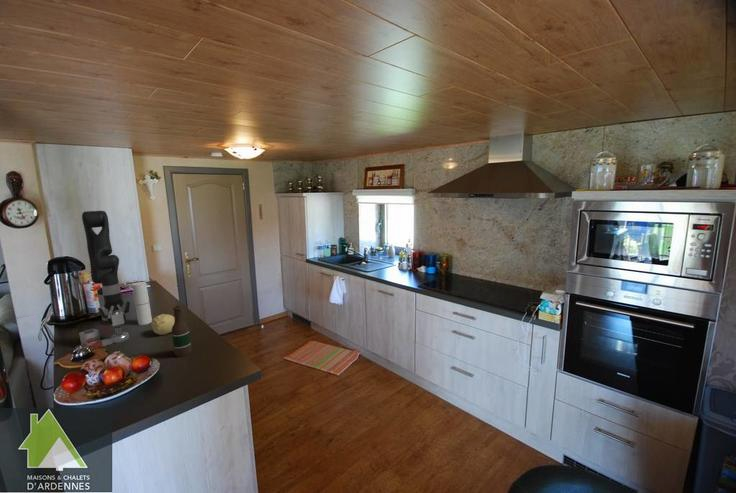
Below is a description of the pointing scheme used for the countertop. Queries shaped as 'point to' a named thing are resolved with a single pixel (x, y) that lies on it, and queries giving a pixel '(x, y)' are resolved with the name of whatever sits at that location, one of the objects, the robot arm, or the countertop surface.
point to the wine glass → (109, 339)
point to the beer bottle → (180, 334)
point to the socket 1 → (89, 336)
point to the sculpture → (163, 324)
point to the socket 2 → (117, 318)
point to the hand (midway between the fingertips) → (117, 322)
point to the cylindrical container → (142, 303)
